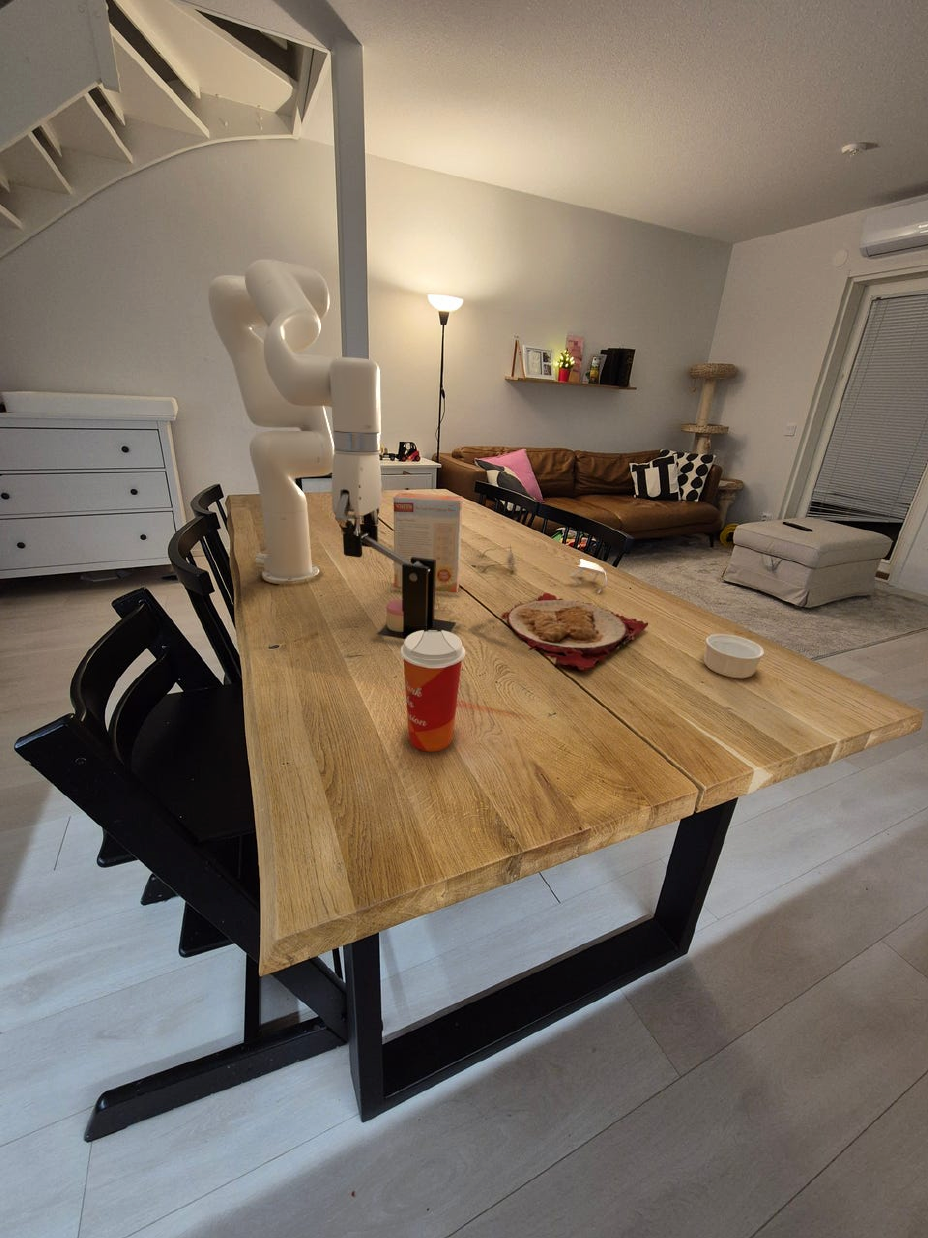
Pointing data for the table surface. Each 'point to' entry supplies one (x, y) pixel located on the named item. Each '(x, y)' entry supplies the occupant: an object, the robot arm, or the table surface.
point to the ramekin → (732, 655)
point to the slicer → (418, 600)
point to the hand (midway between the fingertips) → (361, 550)
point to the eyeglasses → (508, 556)
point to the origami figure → (589, 567)
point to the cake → (395, 615)
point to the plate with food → (572, 629)
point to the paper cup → (431, 686)
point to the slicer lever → (385, 549)
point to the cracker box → (429, 535)
